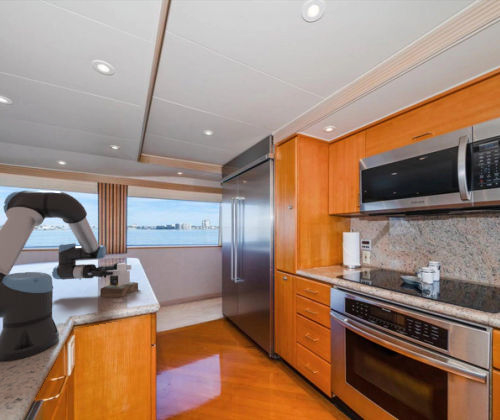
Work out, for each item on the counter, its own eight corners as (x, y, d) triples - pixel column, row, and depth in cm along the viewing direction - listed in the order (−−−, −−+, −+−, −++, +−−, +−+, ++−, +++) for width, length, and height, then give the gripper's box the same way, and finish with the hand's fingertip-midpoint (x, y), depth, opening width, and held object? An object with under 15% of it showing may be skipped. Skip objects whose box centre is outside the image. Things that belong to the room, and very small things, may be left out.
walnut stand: (121, 297, 123) (121, 288, 123) (100, 296, 125) (100, 287, 125) (138, 289, 136) (138, 281, 136) (118, 288, 138) (118, 281, 138)
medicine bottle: (109, 285, 129) (109, 263, 130) (121, 282, 136) (121, 261, 136) (117, 286, 126) (117, 264, 126) (130, 283, 132) (129, 262, 133)
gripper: (98, 273, 142) (134, 271, 143) (70, 284, 117) (114, 282, 119) (98, 260, 142) (134, 259, 144) (70, 269, 117) (114, 267, 119)
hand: (125, 269), depth 131 cm, fingers open, 13 cm apart
